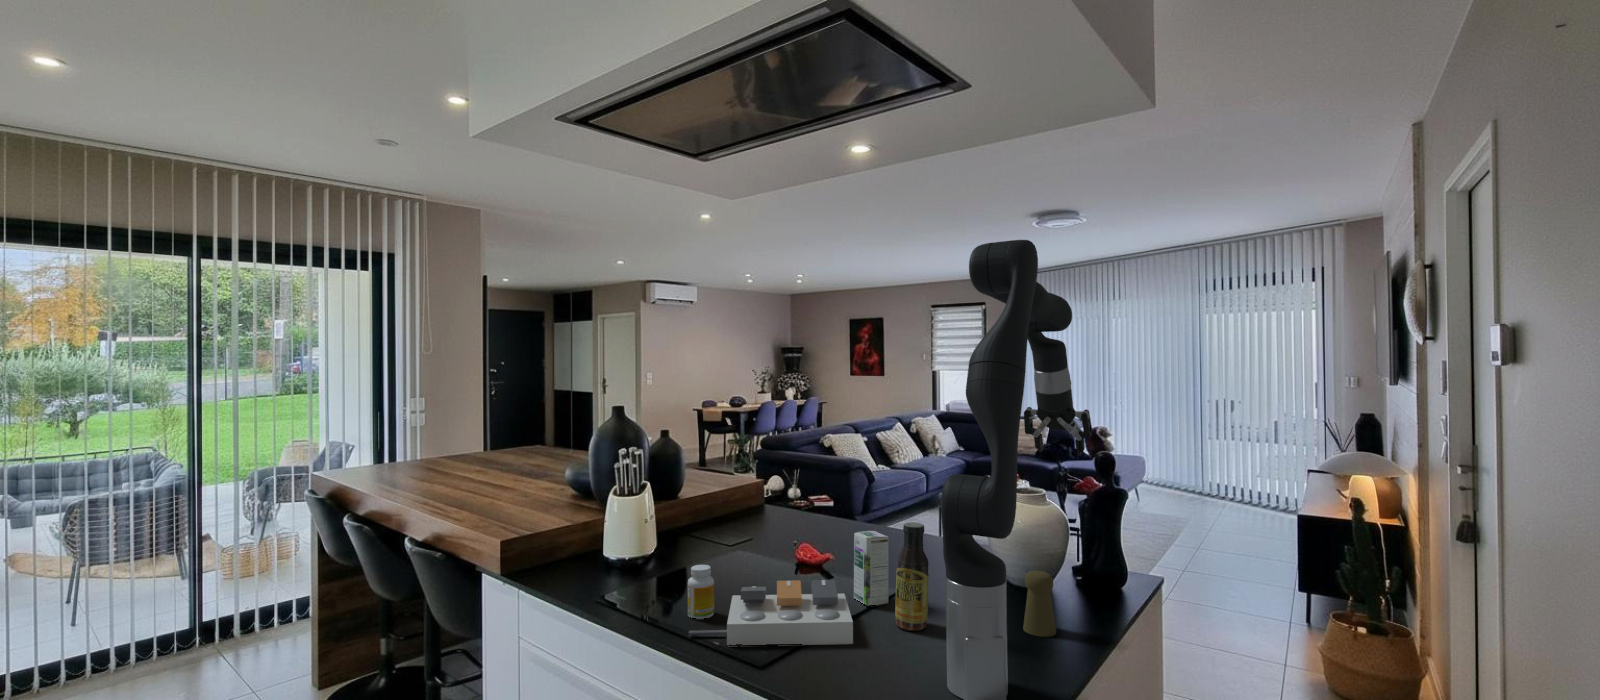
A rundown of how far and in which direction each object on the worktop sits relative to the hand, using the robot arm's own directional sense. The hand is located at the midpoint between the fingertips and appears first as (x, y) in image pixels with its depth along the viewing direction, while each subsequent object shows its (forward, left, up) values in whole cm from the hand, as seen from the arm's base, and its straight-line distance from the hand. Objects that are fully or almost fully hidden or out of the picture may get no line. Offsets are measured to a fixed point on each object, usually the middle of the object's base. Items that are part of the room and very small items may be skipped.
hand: (1060, 451), depth 149 cm
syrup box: (-6, +45, -31) cm, 55 cm away
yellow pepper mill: (-23, +15, -31) cm, 42 cm away
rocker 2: (-17, +63, -27) cm, 70 cm away
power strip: (-20, +67, -31) cm, 76 cm away
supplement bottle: (-12, +81, -31) cm, 88 cm away
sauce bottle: (-20, +39, -31) cm, 54 cm away
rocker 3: (-17, +56, -27) cm, 64 cm away
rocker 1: (-18, +70, -27) cm, 77 cm away
